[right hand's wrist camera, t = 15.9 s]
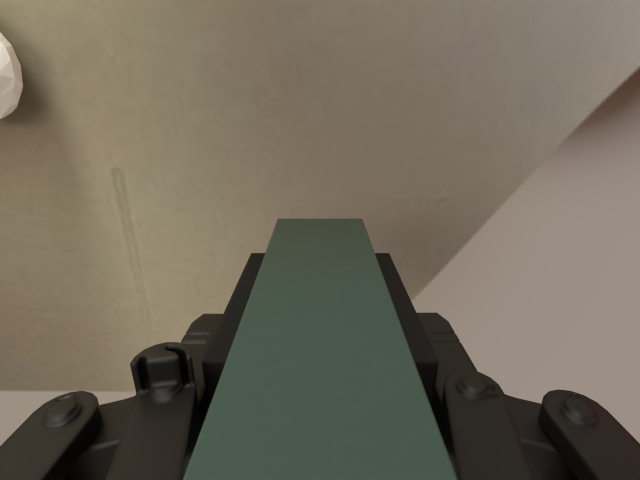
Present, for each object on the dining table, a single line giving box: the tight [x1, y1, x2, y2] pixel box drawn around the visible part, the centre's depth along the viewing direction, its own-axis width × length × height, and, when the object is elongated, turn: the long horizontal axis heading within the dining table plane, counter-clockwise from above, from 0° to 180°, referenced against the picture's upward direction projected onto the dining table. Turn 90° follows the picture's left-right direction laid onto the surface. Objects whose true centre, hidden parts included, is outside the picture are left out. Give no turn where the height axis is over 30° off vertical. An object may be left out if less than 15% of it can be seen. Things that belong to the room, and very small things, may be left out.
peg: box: [183, 219, 458, 480], centre depth 11 cm, size 4×4×14 cm
